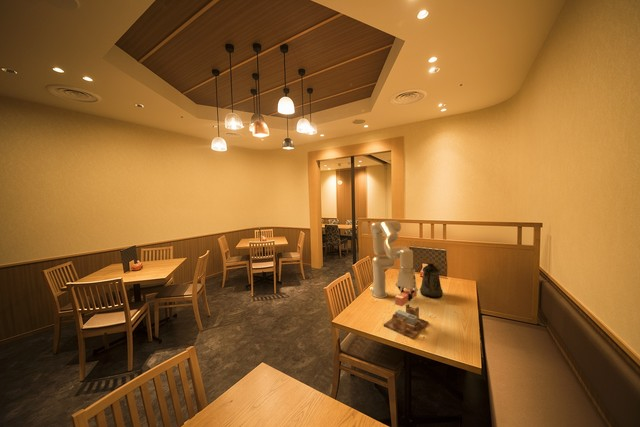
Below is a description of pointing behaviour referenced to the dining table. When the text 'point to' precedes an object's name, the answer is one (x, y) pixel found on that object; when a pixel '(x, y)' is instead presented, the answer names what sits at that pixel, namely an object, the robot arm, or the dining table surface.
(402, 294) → the orange banded bar
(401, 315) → the grey rectangular block
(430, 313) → the dining table surface
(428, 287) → the black backpack
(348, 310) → the dining table surface
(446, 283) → the dining table surface
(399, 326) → the jig
